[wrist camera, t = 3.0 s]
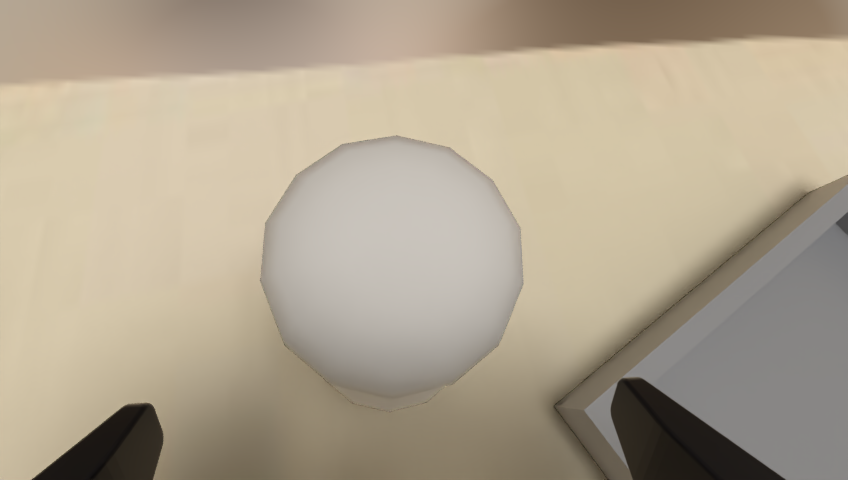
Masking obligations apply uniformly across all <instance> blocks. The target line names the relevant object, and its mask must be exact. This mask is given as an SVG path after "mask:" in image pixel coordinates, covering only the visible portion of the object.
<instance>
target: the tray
mask: <svg viewBox="0 0 848 480" xmlns="http://www.w3.org/2000/svg"><path fill="white" fill-rule="evenodd" d="M627 377H640V378H643V379H644V380H646V381H647V382H649V383H650V384H652V385H653V386H654V387H656V388H657V389H659V390H660V391H662V392H663V393H664V394H666V395H667V396H669V397H670V398H671V399H673V400H674V401H676V402H677V403H678V404H680V405H681V406H683V407H684V408H686V409H687V410H688V411H690V412H691V413H693V414H694V415H695V416H697V417H698V418H700V419H701V420H703V421H704V422H705V423H707V424H708V425H710V426H711V427H712V428H714V429H715V430H717V431H718V432H720V433H721V434H722V435H724V436H725V437H727V438H728V439H729V440H731V441H732V442H734V443H735V444H737V445H738V446H739V447H741V448H742V449H744V450H745V451H746V452H748V453H749V454H751V455H752V456H753V457H755V458H756V459H758V460H759V461H761V462H762V463H763V464H765V465H766V466H768V467H769V468H770V469H772V470H773V471H775V472H776V473H778V474H779V475H780V476H782V477H783V478H785V479H786V480H848V175H846V176H844V177H842V178H840V179H838V180H835V181H833V182H831V183H829V184H826V185H824V186H822V187H820V188H818V189H815V190H813V191H811V192H809V193H808V194H807V195H805V196H804V197H803V198H802V199H801V200H799V201H798V202H797V203H796V204H795V205H793V206H792V207H791V208H790V209H789V210H787V211H786V212H785V213H784V214H783V215H781V216H780V217H779V218H778V219H777V220H775V221H774V222H773V223H772V224H771V225H769V226H768V227H767V228H766V229H765V230H763V231H762V232H761V233H760V234H759V235H758V236H756V237H755V238H754V239H753V240H752V241H750V242H749V243H748V244H747V245H746V246H744V247H743V248H742V249H741V250H740V251H738V252H737V253H736V254H735V255H734V256H732V257H731V258H730V259H729V260H728V261H726V262H725V263H724V264H723V265H722V266H720V267H719V268H718V269H717V270H716V271H714V272H713V273H712V274H711V275H710V276H708V277H707V278H706V279H705V280H704V281H703V282H701V283H700V284H699V285H698V286H697V287H695V288H694V289H693V290H692V291H691V292H689V293H688V294H687V295H686V296H685V297H683V298H682V299H681V300H680V301H679V302H677V303H676V304H675V305H674V306H673V307H671V308H670V309H669V310H668V311H667V312H665V313H664V314H663V315H662V316H661V317H659V318H658V319H657V320H656V321H655V322H654V323H652V324H651V325H650V326H649V327H648V328H646V329H645V330H644V331H643V332H642V333H640V334H639V335H638V336H637V337H636V338H634V339H633V340H632V341H631V342H630V343H628V344H627V345H626V346H625V347H624V348H622V349H621V350H620V351H619V352H618V353H616V354H615V355H614V356H613V357H612V358H610V359H609V360H608V361H607V362H606V363H605V364H603V365H602V366H601V367H600V368H599V369H597V370H596V371H595V372H594V373H593V374H591V375H590V376H589V377H588V378H587V379H585V380H584V381H583V382H582V383H581V384H579V385H578V386H577V387H576V388H575V389H573V390H572V391H571V392H570V393H569V394H567V395H566V396H565V397H564V398H563V399H561V400H560V401H559V402H558V403H557V404H556V405H554V407H555V408H556V409H557V411H558V412H559V413H560V415H561V416H562V418H563V419H564V420H565V422H566V423H567V424H568V426H569V427H570V428H571V430H572V431H573V432H574V434H575V435H576V436H577V438H578V439H579V440H580V442H581V443H582V444H583V446H584V447H585V448H586V450H587V451H588V452H589V454H590V455H591V457H592V458H593V459H594V461H595V462H596V463H597V465H598V466H599V467H600V469H601V470H602V471H603V473H604V474H605V475H606V477H607V478H608V479H609V480H632V477H631V474H630V471H629V468H628V465H627V462H626V459H625V456H624V453H623V450H622V447H621V445H620V442H619V439H618V436H617V433H616V430H615V427H614V424H613V421H612V418H611V412H610V408H611V403H612V400H613V396H614V393H615V389H616V386H617V383H618V381H619V380H620V379H621V378H627Z"/></svg>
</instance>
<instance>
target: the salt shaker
mask: <svg viewBox="0 0 848 480" xmlns="http://www.w3.org/2000/svg"><path fill="white" fill-rule="evenodd" d="M260 281H261V284H262V287H263V290H264V293H265V295H266V298H267V301H268V303H269V306H270V308H271V311H272V314H273V316H274V319H275V321H276V324H277V327H278V329H279V332H280V334H281V337H282V340H283V342H284V345H285V346H286V347H287V348H288V349H289V350H291V351H292V352H293V353H294V354H295V355H297V356H298V357H299V358H300V359H301V360H303V361H304V362H305V363H306V364H307V365H308V366H310V367H311V368H312V369H313V370H314V371H316V372H317V373H318V374H319V375H320V376H322V377H323V379H324V380H326V381H327V382H328V383H329V384H330V385H332V386H333V387H334V388H335V389H336V390H337V391H339V392H340V393H341V394H342V395H343V396H345V397H346V398H347V399H348V400H349V401H350V402H352V403H354V404H358V405H362V406H367V407H371V408H375V409H379V410H384V411H388V412H391V411H395V410H399V409H403V408H407V407H411V406H414V405H418V404H422V403H426V402H427V401H429V400H430V399H431V398H432V397H433V396H434V395H436V394H437V393H438V392H439V391H440V390H442V389H443V388H444V387H445V386H448V385H452V384H453V383H455V382H456V381H457V380H458V379H459V378H460V377H462V376H463V375H464V374H465V373H466V372H468V371H469V370H470V369H471V368H472V367H474V366H475V365H476V364H477V363H478V362H480V361H481V360H482V359H483V358H484V357H485V356H487V355H488V354H489V353H490V352H491V351H493V350H494V349H495V348H496V347H497V346H498V345H499V343H500V341H501V339H502V336H503V334H504V331H505V329H506V326H507V324H508V321H509V319H510V316H511V314H512V311H513V309H514V306H515V304H516V301H517V299H518V296H519V294H520V291H521V289H522V286H523V266H522V248H521V230H520V226H519V225H518V223H517V221H516V219H515V218H514V216H513V214H512V212H511V211H510V209H509V207H508V206H507V204H506V202H505V200H504V199H503V197H502V195H501V193H500V192H499V190H498V188H497V186H496V185H495V183H494V181H493V180H492V179H491V178H489V177H488V176H487V175H485V174H484V173H483V172H481V171H480V170H479V169H477V168H476V167H475V166H473V165H472V164H471V163H469V162H468V161H467V160H465V159H464V158H463V157H462V156H460V155H459V154H458V153H456V152H455V151H454V150H452V149H451V148H449V147H445V146H440V145H436V144H432V143H427V142H423V141H418V140H414V139H410V138H405V137H401V136H391V137H384V138H378V139H372V140H365V141H359V142H353V143H346V144H342V145H340V146H339V147H337V148H336V149H334V150H333V151H331V152H330V153H328V154H327V155H325V156H324V157H322V158H321V159H319V160H318V161H316V162H315V163H313V164H312V165H310V166H309V167H307V168H306V169H304V170H303V171H301V172H300V173H298V174H297V175H296V176H295V178H294V179H293V181H292V182H291V184H290V185H289V187H288V188H287V190H286V191H285V193H284V195H283V196H282V198H281V199H280V201H279V202H278V204H277V205H276V207H275V209H274V210H273V212H272V213H271V215H270V216H269V218H268V219H267V221H266V223H265V233H264V244H263V255H262V267H261V278H260Z"/></svg>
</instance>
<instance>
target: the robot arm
mask: <svg viewBox="0 0 848 480" xmlns="http://www.w3.org/2000/svg"><path fill="white" fill-rule="evenodd" d="M610 412H611V418H612V421H613V424H614V427H615V430H616V433H617V436H618V439H619V442H620V445H621V447H622V450H623V453H624V456H625V459H626V462H627V465H628V468H629V471H630V474H631V477H632V480H786V479H785V478H783V477H782V476H780V475H779V474H778V473H776V472H775V471H773V470H772V469H770V468H769V467H768V466H766V465H765V464H763V463H762V462H761V461H759V460H758V459H756V458H755V457H753V456H752V455H751V454H749V453H748V452H746V451H745V450H744V449H742V448H741V447H739V446H738V445H737V444H735V443H734V442H732V441H731V440H729V439H728V438H727V437H725V436H724V435H722V434H721V433H720V432H718V431H717V430H715V429H714V428H712V427H711V426H710V425H708V424H707V423H705V422H704V421H703V420H701V419H700V418H698V417H697V416H695V415H694V414H693V413H691V412H690V411H688V410H687V409H686V408H684V407H683V406H681V405H680V404H678V403H677V402H676V401H674V400H673V399H671V398H670V397H669V396H667V395H666V394H664V393H663V392H662V391H660V390H659V389H657V388H656V387H654V386H653V385H652V384H650V383H649V382H647V381H646V380H644V379H643V378H640V377H627V378H621V379H620V380H619V381H618V383H617V386H616V389H615V393H614V396H613V400H612V403H611V408H610ZM162 445H163V431H162V428H161V425H160V423H159V420H158V417H157V414H156V412H155V409H154V407H153V405H151V404H150V403H135V404H127V405H125V406H123V407H122V408H121V409H119V410H118V411H117V412H116V413H114V414H113V415H112V416H111V417H109V418H108V419H107V420H106V421H104V422H103V423H102V424H101V425H99V426H98V427H97V428H96V429H94V430H93V431H92V432H91V433H89V434H88V435H87V436H86V437H84V438H83V439H82V440H81V441H79V442H78V443H77V444H76V445H74V446H73V447H72V448H71V449H69V450H68V451H67V452H66V453H64V454H63V455H62V456H61V457H59V458H58V459H57V460H56V461H54V462H53V463H52V464H51V465H49V466H48V467H47V468H46V469H44V470H43V471H42V472H41V473H39V474H38V475H37V476H36V477H34V478H33V479H32V480H153V477H154V474H155V470H156V467H157V463H158V460H159V456H160V453H161V449H162Z"/></svg>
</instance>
